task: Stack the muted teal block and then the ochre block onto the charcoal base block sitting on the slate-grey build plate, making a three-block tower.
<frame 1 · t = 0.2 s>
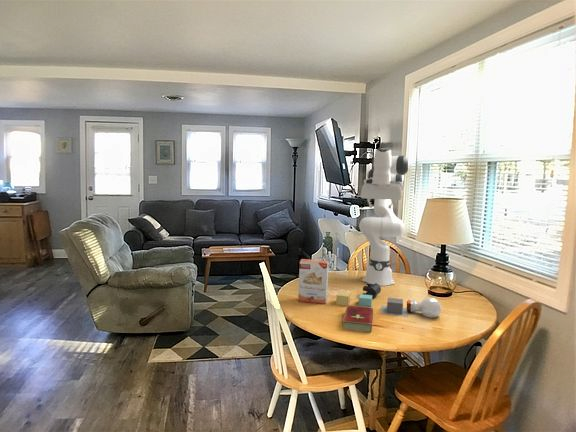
hand: (380, 208, 208), 47 cm above the table, fingers open, 8 cm apart
teal brick: (365, 306, 201), on the table
ochre brick: (342, 303, 204), on the table
cracker box: (312, 301, 206), on the table
build plate: (394, 312, 193), on the table
base brick: (394, 310, 193), point 1 cm above the table, touching build plate
hardcover book: (358, 323, 181), on the table
potion bottle: (423, 316, 190), on the table
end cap: (371, 297, 215), on the table
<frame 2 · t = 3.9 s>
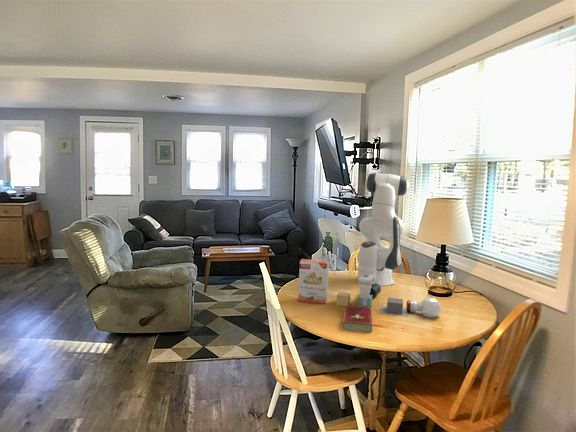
hand: (365, 302, 201), 2 cm above the table, fingers closed on teal brick, 6 cm apart
teal brick: (365, 306, 201), on the table, touching gripper
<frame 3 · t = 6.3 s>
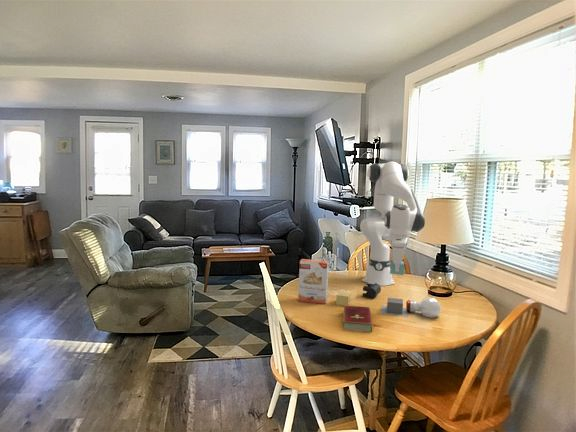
hand: (397, 269, 191), 21 cm above the table, fingers closed on teal brick, 6 cm apart
teal brick: (396, 272, 191), point 19 cm above the table, touching gripper
everything else where it was.
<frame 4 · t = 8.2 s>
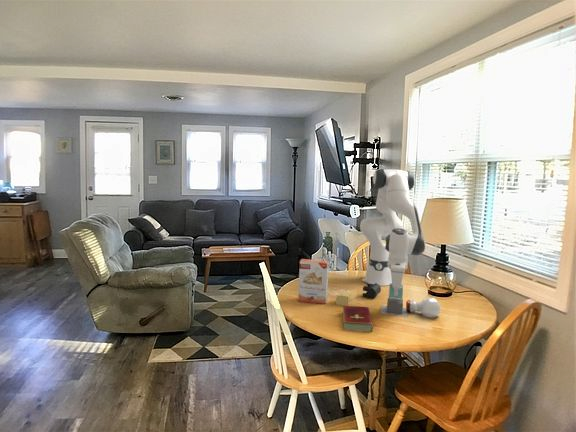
hand: (395, 292, 192), 10 cm above the table, fingers closed on teal brick, 6 cm apart
teal brick: (395, 296, 192), point 8 cm above the table, touching gripper
when the fingers open (8 cm above the table, at t = 9.1 s): teal brick stays where it is, resting on base brick.
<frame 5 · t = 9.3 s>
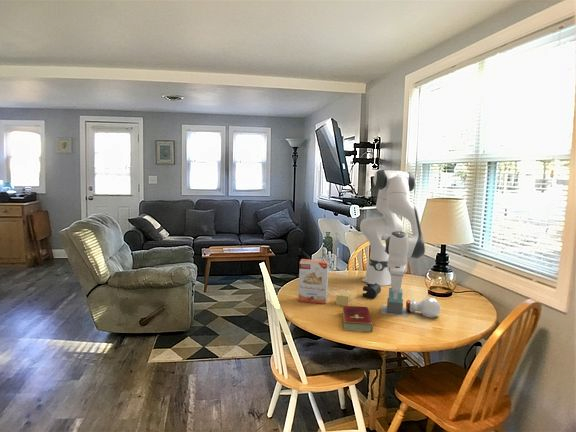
hand: (395, 295, 192), 8 cm above the table, fingers open, 8 cm apart
teal brick: (395, 300, 192), point 6 cm above the table, touching base brick
base brick: (394, 310, 193), point 1 cm above the table, touching build plate, teal brick
everything else where it was.
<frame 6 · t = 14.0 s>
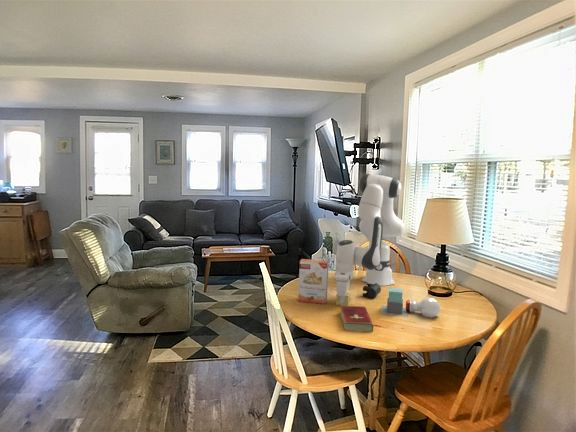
hand: (343, 300, 204), 2 cm above the table, fingers closed on ochre brick, 6 cm apart
ochre brick: (342, 303, 204), on the table, touching gripper
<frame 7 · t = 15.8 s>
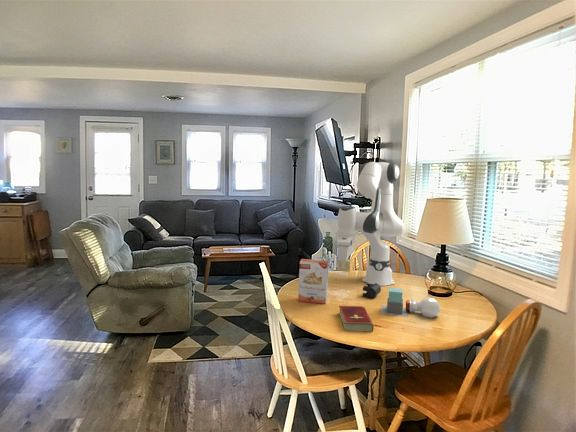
hand: (344, 266, 202), 19 cm above the table, fingers closed on ochre brick, 6 cm apart
ochre brick: (344, 269, 202), point 17 cm above the table, touching gripper
when the fingers open (13 cm above the table, at t = 19.8 s): ochre brick stays where it is, resting on teal brick.
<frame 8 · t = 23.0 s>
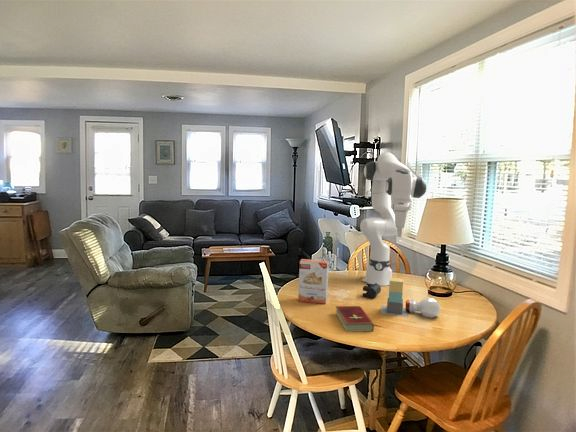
hand: (399, 235, 189), 37 cm above the table, fingers open, 8 cm apart
teal brick: (395, 300, 192), point 6 cm above the table, touching base brick, ochre brick
ochre brick: (395, 290, 192), point 11 cm above the table, touching teal brick
at the end: teal brick 0.1 cm off-centre on the base brick, point 5.0 cm above the base brick's base; ochre brick 0.1 cm off-centre on the base brick, point 10.0 cm above the base brick's base; ochre brick tilted 0° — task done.
